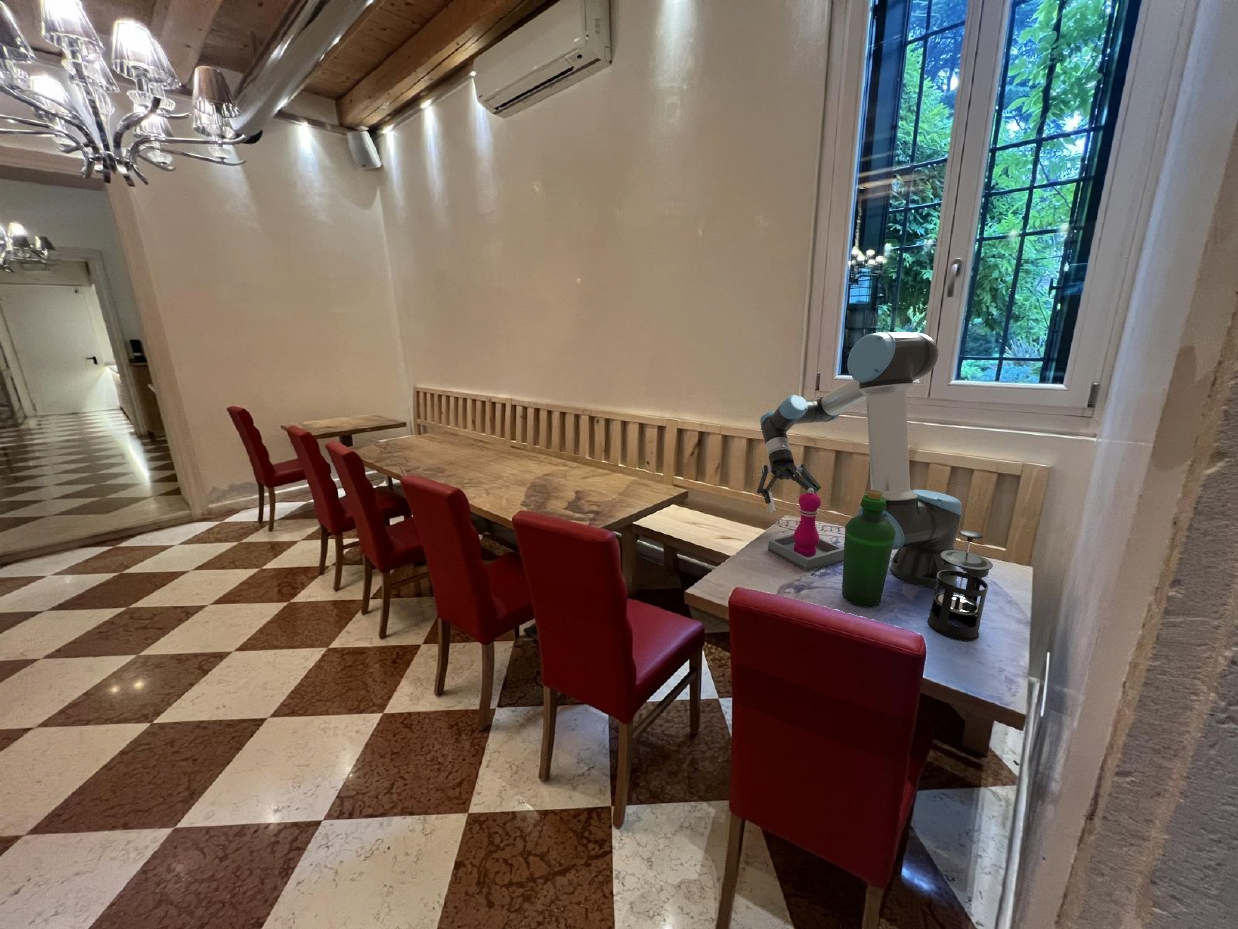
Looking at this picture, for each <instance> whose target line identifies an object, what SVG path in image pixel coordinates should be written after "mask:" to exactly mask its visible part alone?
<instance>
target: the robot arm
mask: <svg viewBox="0 0 1238 929" xmlns="http://www.w3.org/2000/svg"><path fill="white" fill-rule="evenodd" d="M938 358H939V348H938V345H937V344H936V342H935V340H933V337H932V338H931V337H930V336H929V335H927V334H924V333H920V332H916V331H915V332H912V331H910V332H891V331H890V332H889V331H882V332H876V333H870V334H869V333H868V334H866V335H864V336H862V337H861V338H859V339H858V340H857V341H856V342H855V344H854V346H853V347H851V350H850V351H849V355H848V358H847V371H848V373H849V375H850V376H851V378H852V379H851V380H849V381H847V382H845V383H843V384H842V385H840V386H838V387H837V388H835V389H833V390H832V391H830V392H827V393H826V394H825V395H822V396H821V397H819V398H817V399H807V400H806V399H805V398H804V397H803V396H800V395H797V394H791V395H789V396H788V397H787V398H785V400H783V401H782V402H781V403H780V404H779V406H778V407H777V408H776V410H774V411H773V410H772V411H768V412H766V413H764V414H762V416H761V417H760V420H759V422H760V430H761V433H762V436H763V440H764V444H765V448H766V452H767V456H768V460H769V465H770V466H768V465H767V464H765V465H763V467H762V468H761V478H760V481H759V484H758V487H757V490H756V493H757V494H761V495H762V497H763V498H764V502H765V504H768V508H769V513H770V515H774V514H775V513H776V511H777V510H776V506H775V502H774V499H773V498H774V497H773V493H772V491H770V490H771V488H772V487H773V485H774V484H775V483H776V481H777V479H778V480H780V481H781V480H791V481H794V482H795V483H797V484H798V485H799V486H801V487H802V488H803V489H804V490H806V491H807V490H808V489H809V488H812V489H814V494H816V495H818V494H817V493H818V492H819V491H820V490H821V488H822V486H821V485H820V484H819V482H818V481H817V480H816V479H815V478H814V477H813V475H812V474H811V473H810V472H809V470H807V468H806V465H805V464H804V463H802V464H800V465H796V464H795V460H794V456H793V454H792V451H791V450H792V449H791V445H790V442H789V438H788V434H787V432H788V431H790V429H792V428H793V426H794V425H797V424H798V425H799V424H800V425H801V424H811V423H828V422H831V421H832V422H833V421H835V420H837V419H838V418H839V417H840V415H841V414H842V413H843V412H846V411H848V410H850V409H851V408H853V407H856V406H858V405H860V404H862V403H864V402H866V414H867V415H866V416H867V417H866V418H867V433H868V434H867V435H868V436H867V437H868V452H869V454H868V456H869V473H870V474H869V475H870V478H869V479H870V490H877V491H881V492H883V495H882V497H884V498H886V507H887V508H886V510H883V513H882V518H884V519H885V520H886V521H888V522H889V523H890V524H891V525H892V526H893V528H894V530H895V531H896V534H895V539H894V544H893V548H892V551H894V550H896V552H895V553H894V555H893V557H892V558H891V560H890V561H891V562H890V567H891V568H890V570H892V571H891V572H892V573H893V574H894V575H895V574H896V575H897V576H896V575H895V576H896V577H898V576H899V577H898V578H900V579H901V578H902V580H903V579H904V580H903V581H905V582H908V583H911V584H914V585H917V586H922V587H926V588H933V589H935V587H936V577H937V573H938V572H939V571H943V570H955V571H958V570H957V566H954V565H952V564H946V565H942V558H941V553H942V552H943V551H947V550H955V545H956V542H957V536H958V532H959V531H958V530H959V525H960V521H961V517H962V508H963V506H962V502H961V501H960V500H959V499H958V498H957V497H954V496H952V495H948V494H945V493H941V492H938V491H933V490H928V489H911V482H910V481H911V479H910V478H911V476H910V458H909V457H910V455H909V452H910V451H909V437H908V436H909V435H908V434H909V433H908V413H907V409H908V408H907V392H908V390H909V389H910V388H911V387H912V386H913V385H914V384H913V383H914V382H915V381H917V380H919V379H921V378H922V377H925V376H926V375H928V374H929V373H930V372H931V371H932V370H933V369H934V367H935V366H936V365H937V362H938ZM770 472H771V474H773V477H772V479H771V480H770V481H769V483H768V484H767V486H766V487H765V483H766V481H767V477H768V474H769V473H770ZM764 487H765V488H764ZM865 495H867V493H866V494H865ZM817 510H818V511H819V508H818V509H817ZM859 515H862V507H861V508H859V509H858V511H857V512H856V514H855V517H856V516H859ZM957 579H958V577H957V576H942V581H944V582H946V583H948V584H950V585H952V586H955V585H956V584H957ZM940 589H944V588H943V587H940Z"/></svg>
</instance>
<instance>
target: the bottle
mask: <svg viewBox="0 0 1238 929" xmlns="http://www.w3.org/2000/svg"><path fill="white" fill-rule="evenodd" d="M866 494H867V495H866ZM866 494H864V495H863V496H862V498H861V501H860V505H859V506H860V507H861V508H862V515H859V516H856V515H855V516H853V517H852V518H851V519H850V520H849V521H848V522H847V523H846V524H845V526H844V545H843V546H844V547H843V548H844V560H843V561H842V581H841V583H842V585H841V595H842V598H843V599H844V600H845V601H846V602H849V603H850V604H852V605H854V606H858V607H860V606H861V607H860V608H875V607H879V606H880V604H881V602H882V598H883V592H884V590H885V583H886V580H887V575H888V570H889V566H890V563H891V562H890V561H891V556H892V552H893V550H892V548H893V544H894V539H895V534H896V531H895V530H894V528H893V526H892V525H891V524H890V523H889V522H888V521H886V520H885V519H884V518H882V513H883V510H886V508H887V507H886V498H884V497H882V495H883V492H881V491H877V490H871V489H868V490H867V491H866Z"/></svg>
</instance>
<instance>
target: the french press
mask: <svg viewBox="0 0 1238 929" xmlns="http://www.w3.org/2000/svg"><path fill="white" fill-rule="evenodd" d="M958 534H959V535H961V536H963V537H965V538H966V537H967V538H966V541H967V542H968V543H967V547H966V548H967V549H966V551H965V550H959V549H958V550H956V549H954V550H947V551H943V552H942V553H941V558H942V565H946V564H952V565H954V566H956V568H957V567H958V568H960V569H961V570H962V571H961V570H957V571H955V570H943V571H939V572H938V573H937V577H936V587H935V588H934V594H933V599H932V604H931V607H930V612H929V615H928V616H929V617H928V618H927V622H926V623H927V625H928V626H929V628H930V629H931V630H932V631H933V632H935V633H936V634H939V635H940V636H943V637H945V638H947V639H951V640H953V641H956V642H957V641H958V642H974V641H977V640H978V639H979V638H980V631H979V630H980V627H981V620H982V616H983V611H984V607H985V600H986V597H987V593H988V591H989V590H988V589H989V584H988V583H987V582H986V581H985V580H984V579H983V578H986V577H987V576H989V572H990V570H992V568H993V566H994V564H993V562H992V561H991V560H990V559H987V558H986V557H983V555H982V556H981V555H979V554H976V553H973V552H970V548H971V543H973V542H974V541H973V540H974V539H975V540H976V539H978V540H979V539H983V538H985V537H984V535H983V534H982V533H980V532H978V531H974V530H969V529H968V530H967V529H960V530H959V531H958ZM942 576H957V578H961V580H960V583H959V586H955V585H954V586H952V585H950V584H948V583H946V582H944V581H942ZM964 579H966V580H967V581H966V584H965V585H966V586H965V588H962V586H963V581H964ZM981 586H982V587H983V589H981ZM940 587H943V588H942V589H944V590H943V591H944V592H941V593H940V591H941V588H940ZM978 598H979V602H978ZM949 620H951V621H955V622H959V623H960V624H963V625H964V626H962V625H956V624H954V623H951V622H949Z"/></svg>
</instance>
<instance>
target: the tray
mask: <svg viewBox="0 0 1238 929" xmlns="http://www.w3.org/2000/svg"><path fill="white" fill-rule="evenodd" d="M793 535H794V533H792V534H787V535H784V536H779V537H776V538H772V539H768V546H767V551H768V552H770V553H771V554H773V555H775V556H777V557H779V558H780V559H782V560H784V561H786V562H788V563H790V564H791V565H794V566H795V567H797V568H799V569H801V570H803V571H805V572H810V571H812V570H817V569H820V568H823V567H826V565H827V566H829V565H834V564H837V563H839V562H838V561H840V562H843V561H844V547H841V546H840V545H837V544H835V543H833V542H830V541H828V540H825V539H823V538H821V537H819V543H818V544H817V545H816V548H817V549H816V554H815V555H814V556H803V555H801V554H799V553H797V552H795V551H794V544H795V542H794V540H793ZM836 562H837V563H836Z"/></svg>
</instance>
